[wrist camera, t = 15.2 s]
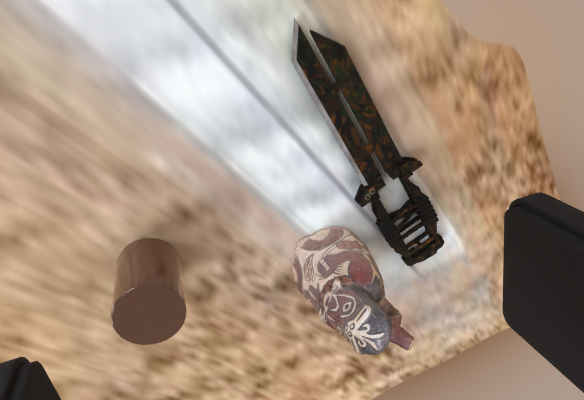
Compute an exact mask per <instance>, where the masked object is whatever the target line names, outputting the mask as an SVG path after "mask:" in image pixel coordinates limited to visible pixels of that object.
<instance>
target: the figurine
mask: <svg viewBox="0 0 584 400" xmlns="http://www.w3.org/2000/svg"><path fill="white" fill-rule="evenodd" d="M291 264H292V272H293V278H294V280H295V285H296V286H297V288H298V290H299V291H300V292H301V293H302V295H303V296H304V297H305V298H306V299H307V300H308V301H309V302H310V303H311V304H312V306H313V307H314V308H315V310H316V311H317V313H318V314H319V316H320V319H321V321H322V322H323V323H326V324H327V325H329V326H330V327H331V328H333V329H336V330H337V331H338V332H339V333H340V334H341V335H342V336H343V337H344V338H345V339H346V340H347V341H348V342H349V343H350V344H351V346H352V347H353V348H354V350H355V351H356V353H357V354H368V355H375V354H379V353H381V352H383V351H384V350H385V349H386V347H387V345H388V343H389V341H390V342H392V343H395V344H397V345H399V346H400V347H402V348H404V349H406V350H410V349H411V348H412V345H413V342H414V338H413V336H411V335H410V334H409V333H408V332H407V331H405V330H404V329H403V328H402V327H400V324H401V318H402V315H401V314H400V313H399V311H398V310H397V309H395V308H394V307H393V306H392V305H391V304H390V303H389V302H388V300H387V299H386V298H385V291H384V283H383V279H382V277H381V274H380V272H379V270H378V268H377V265H376V263H375V262H374V260H373V258H372V256H371V254H370V253H369V251H368V249H367V247H366V246H365V244H364V243H363V242H362V241H361V240H360V239H359V238H358V237H357V236H356V235H355V234H353V233H352V232H350V231H349V230H347V229H344V228H341V227H336V226H332V227H330V228H327V229H322V230H320V231H318V232H316V233H314V234H313V235H311V236H307V237H305V238H303V239H302V240H300V241H299V243H298V245H297V248H296V250H295V251H294V253H293V254H292V256H291Z"/></svg>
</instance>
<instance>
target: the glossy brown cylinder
mask: <svg viewBox="0 0 584 400" xmlns="http://www.w3.org/2000/svg"><path fill="white" fill-rule="evenodd" d="M185 318H186V304H185V296H184V288H183V279H182V271H181V263H180V258H179V255H178V253H177V251H176V250H175V249H174V248H173V247H172V246H171V245H170V244H168V243H166V242H165V241H162V240H158V239H142V240H138V241H136V242H134V243H132V244H130V245H129V246H127V247H126V248H125V249H124V250H123V251H122V253H121V254H120V256H119V258H118V262H117V269H116V278H115V286H114V294H113V303H112V311H111V321H112V325H113V327H114V329H115V331H116V332H117V333H118V334H119V335H120V336H121V337H122V338H123V339H125V340H127V341H129V342H132V343H135V344H140V345H151V344H156V343H160V342H163V341H165V340H167V339H169V338H170V337H172V336H173V335H174V334H176V333H177V332H178V331H179V329H180V328H181V327H182V325H183V323H184V321H185Z"/></svg>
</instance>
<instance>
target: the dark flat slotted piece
mask: <svg viewBox="0 0 584 400" xmlns="http://www.w3.org/2000/svg"><path fill="white" fill-rule="evenodd" d="M309 30H310V29H309ZM310 33H311V35H312V37H313V39H314V41H315V43H316V45H317V47H318V48H319V50H320V52H321V54H322V56H323V58H324V59H325V61H326V63H327V65H328V67H329V69H330V71H331V72H332V74H333V76H334V78H335V80H336V82H335V83H333V84H331V82H330V81H329V79H328V77H327V75H326V73H325V71H324V70H323V68H322V66H321V64H320V62H319V61H318V59H317V57H316V55H315V53H314V51H313V50H312V48H311V46H310V44H309V42H308V40H307V39H306V37H305V35H304V33H303V31H302V29H301V28H300V26H299V24H298V23H297V21H296V20H295V18H294V30H293V49H292V63H293V65H294V67H295V68H296V70H297V72H298V74H299V75H300V77H301V79H302V80H303V82H304V84H305V86H306V87H307V89H308V91H309V93H310V94H311V96H312V98H313V99H314V101H315V103H316V105H317V106H318V108H319V110H320V112H321V113H322V115H323V117H324V118H325V120H326V122H327V124H328V125H329V127H330V129H331V131H332V132H333V134H334V136H335V137H336V139H337V141H338V143H339V144H340V146H341V148H342V150H343V151H344V153H345V155H346V156H347V158H348V160H349V162H350V163H351V165H352V167H353V169H354V170H355V172H356V174H357V175H358V177H359V179H360V181H361V182H362V184H361V185H360V187H359V189H358V192H357V194H356V197H355V201H356V202H357V203H359V205H360V206H361V207H363V206H365V205H366V204H368V203H369V202H372V211H373V212H374V214H375V216H376V217H377V221H376V224H377V226H378V228H379V229H380V231H381V233H382V234H383V236H384V237H385V240H386V241H387V242H388V243H389V245H390V247H391V248H394V250H395V252H396V253H399V254H401V255H403V256H402V257H401V258H402V259H403V261H404V263H405V264H406V265H407V266H412V265H414V264H415V263H418V262H422V261H424V260H426V259H427V258H429V257H431V256H433V255H434V254H436V253H437V252H436V251H437V250H438V249H439V248H441V247H442V246H443V244H444V240H443V238H442V236H440V235H439V234H437V221H439V220H438V218H437V214H436V213H435V210H434V209H433V206H432V205H431V202H430V201H429V200H428V199H429V198H428V196H426V195H425V194H423V193H422V192H421V190H420V188H419V187H418V186H416V185H415V184H413V183H412V182H410V181H409V179H408V178H409V177H410V176H412V175H413V173H412V172H414V171H415V170H416V169H418V168H419V167H421V166H422V165H423V164H422V162H420V161H417V159H415V158H411V157H401V156H400V154H399V152H398V150H397V148H396V146H395V144H394V142H393V140H392V138H391V137H390V135H389V133H388V131H387V129H386V127H385V125H384V123H383V121H382V119H381V117H380V115H379V113H378V111H377V109H376V107H375V105H374V103H373V101H372V99H371V97H370V95H369V93H368V91H367V89H366V87H365V85H364V83H363V82H362V80H361V78H360V76H359V74H358V72H357V70H356V68H355V66H354V64H353V62H352V60H351V58H350V56H349V54H348V52H347V50H346V48H345V46H343V45H341V44H339V43H337V42H335V41H332V40H330V39H328V38H326V37H324V36H322V35H320V34H318V33H316V32H314V31H312V30H310ZM339 89H341V91H342V93H343V95H344V97H345V98H346V100H347V102H348V104H349V106H350V108H351V109H352V111H353V113H354V115H355V117H356V119H357V121H358V122H359V124H360V126H361V128H362V130H363V132H364V134H365V135H366V137H367V139H368V141H369V144H368V145H366V146H365V145H364V143H363V141H362V139H361V137H360V135H359V134H358V132H357V130H356V128H355V126H354V124H353V123H352V121H351V119H350V117H349V115H348V114H347V112H346V110H345V108H344V106H343V104H342V103H341V101H340V99H339V97H338V95H337V93H336V91H338V90H339ZM372 152H375V154H376V156H377V158H378V159H379V161H380V163H381V165H382V167H383V169H384V171H385V172H386V173H388V175H389V177H391V178H392V179H393V180H394V179H395V178H397V177H399V179H400V181H401V183H402V185H403V187H404V189H405V191H406V193H407V195H408V196H409V198H410V199H409V200H408V201H407V202H406V203H405V204H404V205H403V207H402V208H401V209H400V210H398V211H395V212H393V213H390V214H388V213H387V211H386V210H385V208H384V206H383V204H382V202H381V201H380V199H379V198H380V196H379V194H378V190H380V189H381V188H383V187H384V186H385V183H384V181H383V179H382V177H381V174H380V172H379V170H378V168H377V166H376V165H375V163H374V161H373V159H372V157H371V156H370V154H371V153H372ZM410 204H412V205H410ZM409 205H410V206H409ZM411 209H412V210H411ZM409 210H410V211H409ZM406 211H408V212H406ZM414 213H417V214H418V216H416V217H415V218H414V219H412V220H411V221H409V222H408V223H406V222H407V221H408V220H409V219H410V217H411V216H412V215H413V214H414ZM394 216H395V217H394ZM391 217H393V218H391ZM404 217H405V218H404ZM401 218H404V219H403V221H402V222H401V223H400V224H399V225H398V226H397V228H396V225H395V224H394V223H395V222H396V221H397V220H399V219H401ZM419 219H421V221H422V222H420V223H419V224H417V225H416V226H415V227H413V228H412V229H410V230H409V231H407V232H406V233H405V234H403V235H402V236H401V234H400V233H401V232H402V231H404V230H405V229H406V228H408V227H409V226H411V225H412V224H414V223H415V222H417V221H418V220H419ZM405 223H406V224H405ZM422 226H424V227H425V229H426V231H425V232H424V233H423V234H421V235H420V236H418V237H417V238H415V239H414V240H413V241H411V242H410V243H408V244H407V245H405V243H404V241H403V239H405V238H406V237H408V236H409V235H411V234H412V233H413V232H415V231H416V230H418V229H419V228H421V227H422ZM428 234H429V236H430V238H428V239H427V240H425V241H424V242H423V243H420V242H419V240H421V239H422V238H424V237H425V236H426V235H428ZM415 243H417V244H418V246H417V247H415V248H412V249H410V250H408V248H409V247H411V246H412V245H414V244H415Z"/></svg>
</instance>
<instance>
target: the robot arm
mask: <svg viewBox="0 0 584 400" xmlns="http://www.w3.org/2000/svg"><path fill="white" fill-rule="evenodd" d="M503 315H504V318H505V320H506V322H507V323H508V325H509V326H510V327H511V328H512V329H513V330H514V331H515V332H516V333H518V334H519V335H520V336H521V337H522V338H523V339H524V340H525V341H527V342H528V343H529V344H530V345H531V346H532V347H533V348H534V349H535V350H537V351H538V352H539V353H540V354H541V355H542V356H543V357H544V358H546V359H547V360H548V361H549V362H550V363H551V364H552V365H553V366H554V367H556V368H557V369H558V370H559V371H560V372H561V373H562V374H563V375H564V376H565V377H567V378H568V379H569V380H570V381H571V382H572V383H573V384H574V385H575V386H577V387H578V388H579V389H580V390H581V391H582V392H583V393H584V212H582V211H580V210H578V209H576V208H574V207H572V206H570V205H568V204H566V203H564V202H562V201H560V200H558V199H555V198H553V197H551V196H549V195H547V194H545V193H541V192H540V193H535V194H532V195H529V196H525V197H522V198H519V199H516V200H514V201H513V202H512V203H511V204H510V207H509V209H508V210H507V211H506V213H505V217H504V267H503ZM0 400H61V399H60V397H59V395H58V393H57V391H56V390H55V388H54V386H53V384H52V382H51V380H50V379H49V377H48V375H47V373H46V371H45V370H44V368H43V366H42V365H41V363H39V362H38V361H34V362H31V363H30V362H29V360H27V359H26V358H25V357H19V358H16V359H13V360H10V361H7V362H3V363H0Z"/></svg>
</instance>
